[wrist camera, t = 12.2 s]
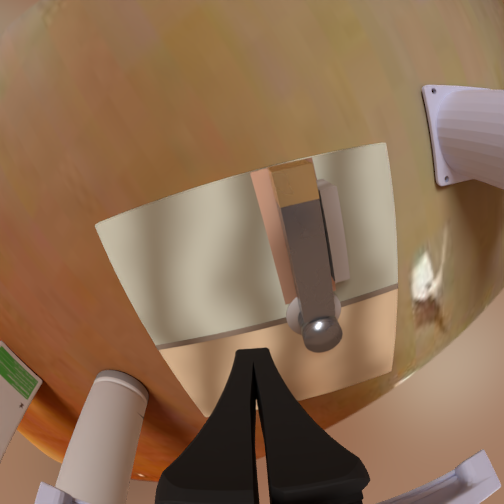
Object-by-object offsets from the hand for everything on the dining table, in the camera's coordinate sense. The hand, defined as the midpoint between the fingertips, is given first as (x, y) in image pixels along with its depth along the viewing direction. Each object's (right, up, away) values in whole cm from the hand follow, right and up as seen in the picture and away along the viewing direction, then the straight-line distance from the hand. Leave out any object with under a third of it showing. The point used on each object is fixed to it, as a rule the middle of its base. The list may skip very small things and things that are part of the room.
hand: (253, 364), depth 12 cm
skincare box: (-32, -11, +14) cm, 37 cm away
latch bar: (+4, +4, +7) cm, 9 cm away
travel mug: (-14, -10, +14) cm, 22 cm away
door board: (+2, 0, +11) cm, 11 cm away
